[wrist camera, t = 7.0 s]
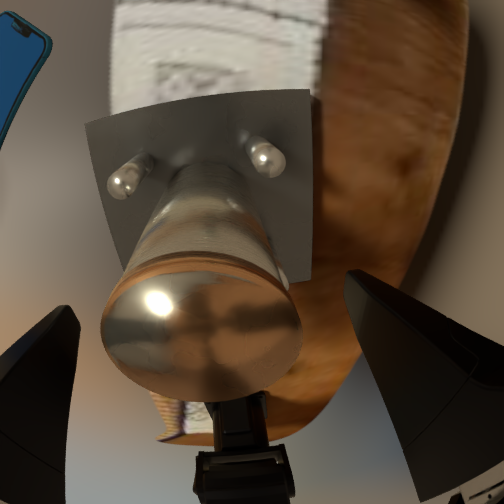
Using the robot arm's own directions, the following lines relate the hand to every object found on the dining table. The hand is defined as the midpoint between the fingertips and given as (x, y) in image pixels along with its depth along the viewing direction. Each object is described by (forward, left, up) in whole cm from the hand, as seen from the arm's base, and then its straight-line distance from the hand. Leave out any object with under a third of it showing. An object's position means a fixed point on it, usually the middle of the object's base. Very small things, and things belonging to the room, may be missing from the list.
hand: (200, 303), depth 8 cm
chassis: (0, 0, -9) cm, 9 cm away
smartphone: (+10, +16, -10) cm, 21 cm away
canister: (0, 0, -8) cm, 8 cm away
